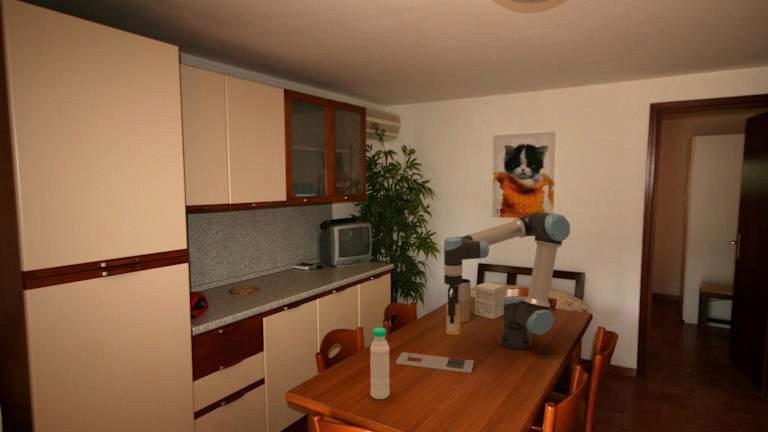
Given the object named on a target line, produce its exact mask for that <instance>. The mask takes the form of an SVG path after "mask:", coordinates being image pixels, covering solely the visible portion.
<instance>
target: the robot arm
mask: <svg viewBox="0 0 768 432" xmlns="http://www.w3.org/2000/svg"><path fill="white" fill-rule="evenodd" d="M570 225H571V224H570V222H569V221H568V219H567V218H566V217H565V216H564V215H562V214H558V213H556V212H555V213H553V212H551V213H550V212H542V211H540V212H539V211H538V212H532V213H528V214H525V215H522V216H518V217H516V218H513V220H512V221H510V222H506V223H503V224H500V225H497V226H493V227H489V228H487V229H483V230H480V231H477V232H473V233H469V234H467V235H464V236H453V237H452V236H451V237H446V238H445V239H444V240H443V241H444V242H443V257H444V262H443V263H444V264H443V265H444V266H442V268H443V270H444V275H443V279H444V280H443V281H444V284H445V285H448V286H449V287H448V288H447V304H448V314H447V316H449V331H456V315H455V303H458V290H459V286H457V285H460V284H462V279H463V261H465V260H476V259H477V260H481V259H485V258H487V257H488V256H489V253H490V247H489V246H493V245H496V244H499V243H501V242H505V241H508V240H512V239H515V238H519V239H520V238H521V239H522V238H525V237H534V242H535V244H536V250H535V256H534V261H533V266H532V272H531V277H530V282H529V289H528V295H527V296H523V295H511V296H506V298H505V299H504V304H503V306H504V315H503V320H502V321H503V327H502V330H501V333H500V334H499V339H498V340H499V342H498V344H500V345H501V346H503V347H505V348H507V349H512V350H527V349H529V348H530V349H531V348H532V346H533V339H532V336H531V333H532V334H535V335H539V336H540V335H544V334H547V333H548V332H549V331H550V330H551V328H552V327H553V325H554V320H555V319H554V315H553V313H552V312H551V304H550V303H549V295H550V289H551V285H552V280H553V274H554V268H555V262H556V257H557V253H558V248H560V247H562V246H563V245H562V244H563V241H565V240H566V239H567V238H569V235H570V233H571V226H570Z"/></svg>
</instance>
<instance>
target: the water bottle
mask: <svg viewBox="0 0 768 432" xmlns="http://www.w3.org/2000/svg"><path fill="white" fill-rule="evenodd" d="M372 335H373V337H374V339H373V341H372V343H371V345H370V346H369V347H370V348H369V352H370V356H369V357H370V359H369V362H370V380H369V381H370V390H369V391H370V396H371V397H372V398H373V399H375V400H385V399H387V398H388V397H389V396H390V394H391V393H390V392H391V391H390V346H389V343H388V341H387V339H386V336H387V330H386V328H384V327H376V328H374V329H373V330H372Z"/></svg>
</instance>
